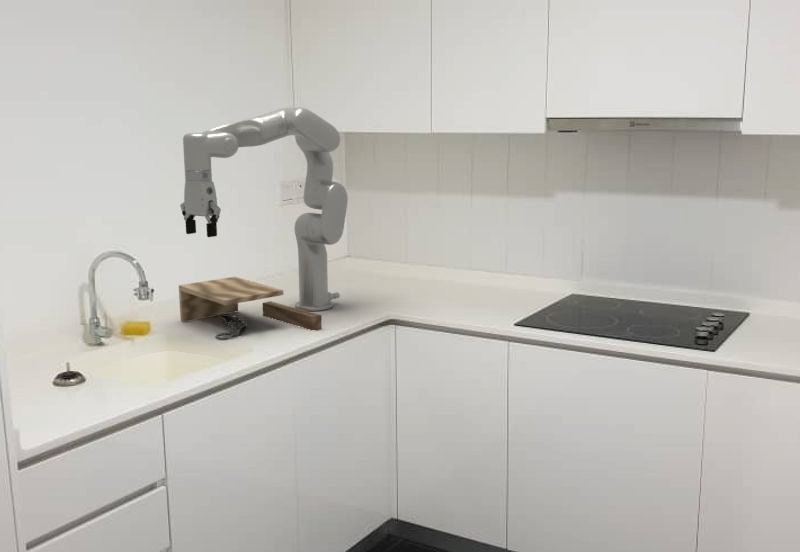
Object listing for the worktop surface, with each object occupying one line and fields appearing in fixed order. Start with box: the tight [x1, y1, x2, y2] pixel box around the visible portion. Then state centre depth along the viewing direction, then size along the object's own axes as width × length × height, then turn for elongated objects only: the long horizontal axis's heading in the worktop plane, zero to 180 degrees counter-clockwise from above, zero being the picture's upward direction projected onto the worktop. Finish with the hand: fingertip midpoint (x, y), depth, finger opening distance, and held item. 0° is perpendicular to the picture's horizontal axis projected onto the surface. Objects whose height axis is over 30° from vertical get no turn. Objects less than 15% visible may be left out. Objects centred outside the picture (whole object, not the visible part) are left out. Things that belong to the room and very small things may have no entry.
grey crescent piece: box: [214, 315, 248, 341], centre depth 252 cm, size 28×2×10 cm
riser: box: [178, 276, 284, 323], centre depth 255 cm, size 20×28×12 cm
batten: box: [262, 300, 323, 331], centre depth 258 cm, size 3×26×5 cm, turn 44°
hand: (201, 235), depth 243 cm, fingers open, 9 cm apart
